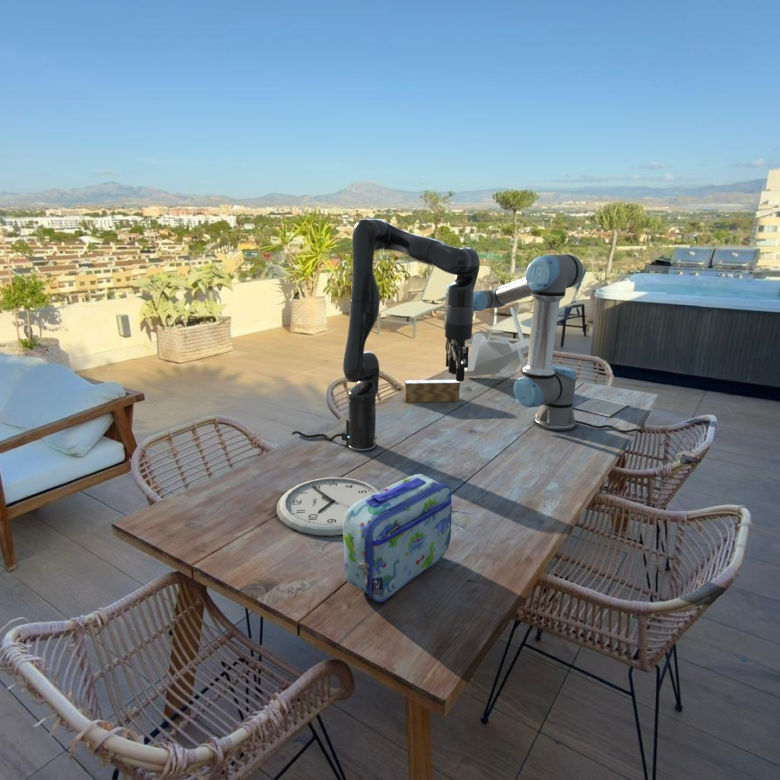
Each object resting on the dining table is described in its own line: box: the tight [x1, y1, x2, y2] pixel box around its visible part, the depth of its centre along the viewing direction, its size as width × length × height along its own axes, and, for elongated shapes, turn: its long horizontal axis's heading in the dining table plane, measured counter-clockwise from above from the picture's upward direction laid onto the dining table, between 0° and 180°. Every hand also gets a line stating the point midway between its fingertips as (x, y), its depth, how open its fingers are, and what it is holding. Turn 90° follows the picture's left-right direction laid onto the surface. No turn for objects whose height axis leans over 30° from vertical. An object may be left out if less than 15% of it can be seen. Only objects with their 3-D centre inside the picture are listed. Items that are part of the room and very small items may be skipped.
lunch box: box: [342, 473, 453, 603], centre depth 112 cm, size 26×11×21 cm, turn 134°
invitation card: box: [573, 396, 629, 418], centre depth 226 cm, size 21×1×15 cm
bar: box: [403, 379, 461, 403], centre depth 230 cm, size 24×5×9 cm, turn 96°
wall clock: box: [276, 476, 381, 537], centre depth 142 cm, size 30×2×30 cm
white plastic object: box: [461, 306, 530, 378], centre depth 259 cm, size 37×45×31 cm
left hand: (455, 376), depth 152 cm, fingers open, 8 cm apart
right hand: (451, 370), depth 228 cm, fingers open, 13 cm apart
